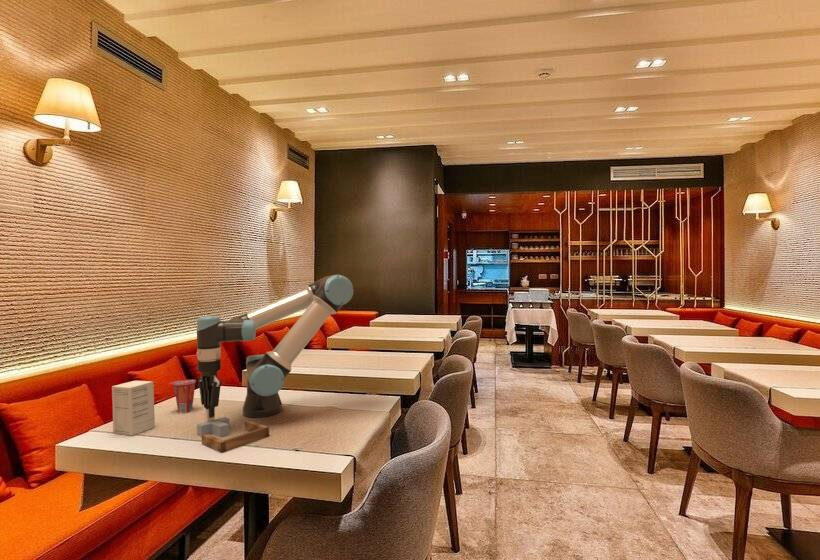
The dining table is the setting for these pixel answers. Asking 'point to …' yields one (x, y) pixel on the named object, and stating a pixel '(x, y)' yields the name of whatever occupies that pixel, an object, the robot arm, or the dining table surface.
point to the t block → (214, 427)
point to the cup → (184, 394)
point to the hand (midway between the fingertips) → (210, 425)
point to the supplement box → (133, 407)
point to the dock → (237, 437)
